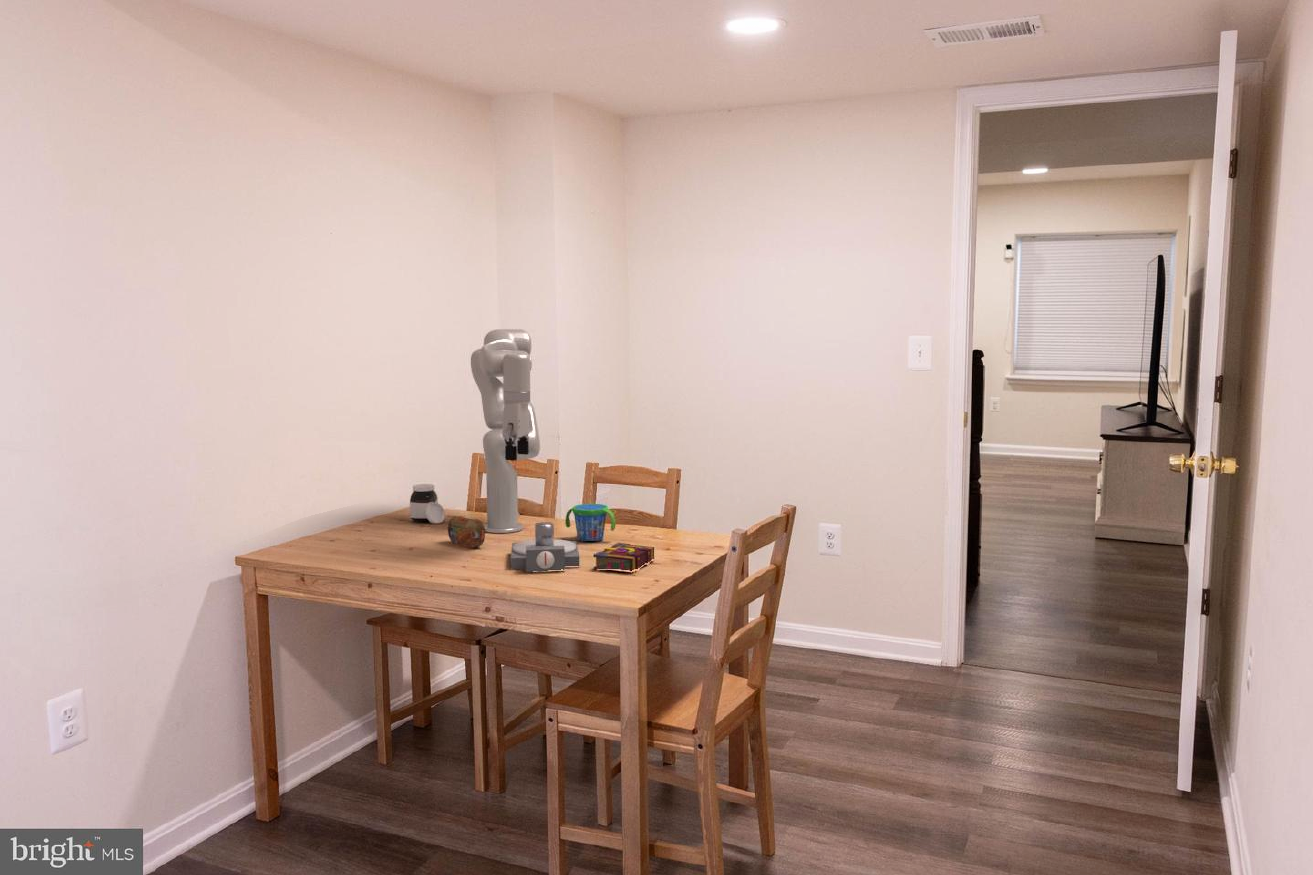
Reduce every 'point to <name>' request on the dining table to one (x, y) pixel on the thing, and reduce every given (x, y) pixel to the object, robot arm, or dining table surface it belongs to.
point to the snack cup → (590, 521)
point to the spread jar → (425, 505)
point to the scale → (544, 555)
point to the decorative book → (624, 557)
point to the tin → (466, 531)
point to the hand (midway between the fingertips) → (517, 457)
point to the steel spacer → (544, 534)
